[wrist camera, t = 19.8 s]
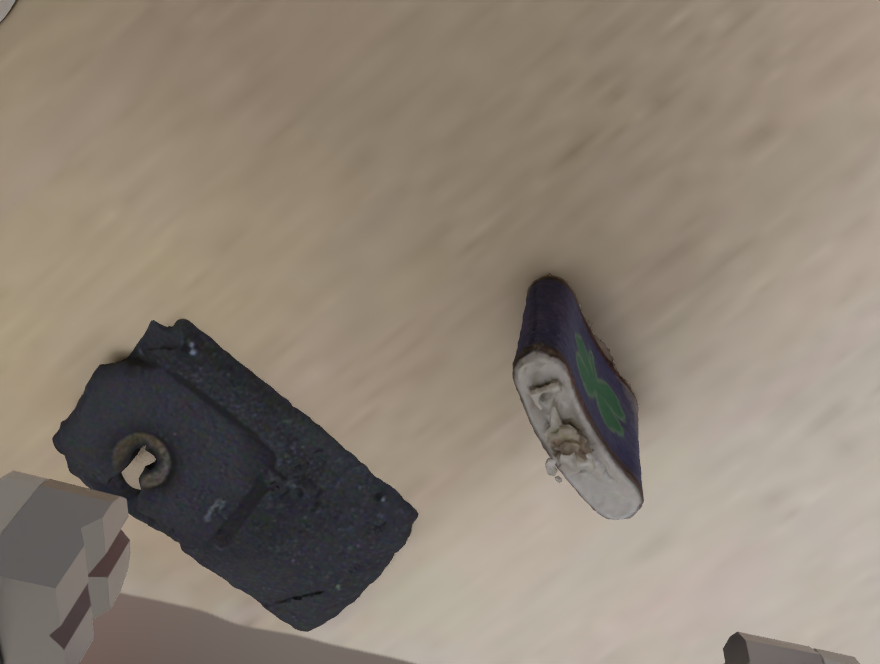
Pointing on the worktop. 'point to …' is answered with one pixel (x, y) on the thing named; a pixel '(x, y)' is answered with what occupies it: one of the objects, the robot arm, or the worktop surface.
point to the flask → (578, 401)
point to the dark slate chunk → (236, 475)
